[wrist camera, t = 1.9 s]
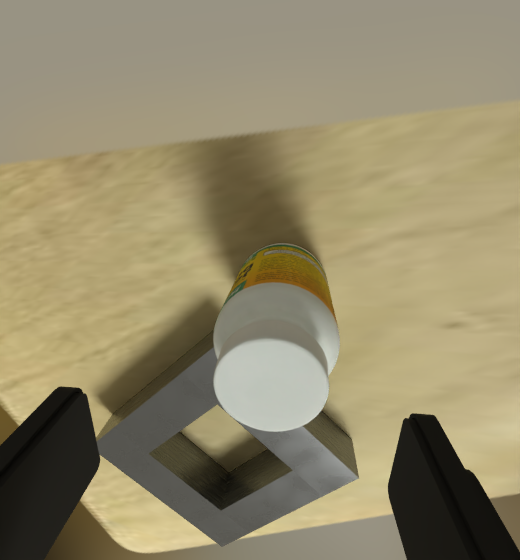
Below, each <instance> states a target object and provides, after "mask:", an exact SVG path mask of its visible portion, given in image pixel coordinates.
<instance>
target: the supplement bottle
mask: <svg viewBox="0 0 520 560" xmlns="http://www.w3.org/2000/svg"><path fill="white" fill-rule="evenodd" d="M213 343H214V349H215V354H216V357H217V359H218V361H217V364H216V367H215V371H214V378H213V383H214V390H215V394H216V396H217V398H218V400H219V402H220V404H221V405H222V407H223V408H224V409H225V411H226V412H227V413H228V414H229V415H231V416H232V417H233V418H234V419H236V420H237V421H239V422H241V423H242V424H245V425H247V426H249V427H252V428H255V429H258V430H263V431H273V432H278V431H287V430H292V429H295V428H299V427H301V426H303V425H305V424H307V423H309V422H310V421H311V420H313V419H314V418H315V417H316V416H317V415H318V414H319V413H320V411H321V410H322V409H323V407H324V405H325V403H326V400H327V397H328V393H329V379H328V376H329V374H330V373H331V371H332V370H333V368H334V366H335V364H336V361H337V358H338V354H339V348H340V337H339V330H338V326H337V321H336V317H335V313H334V309H333V304H332V300H331V295H330V290H329V286H328V282H327V278H326V274H325V272H324V269H323V267H322V266H321V264H320V263H319V261H318V260H317V259H316V257H315V256H313V255H312V254H311V253H310V252H309V251H307V250H306V249H304V248H302V247H299V246H297V245H293V244H288V243H276V244H272V245H268V246H265V247H263V248H261V249H259V250H257V251H256V252H254V253H253V254H252V255H251V256H250V257H249V258H248V259H247V260H246V261H245V263H244V264H243V266H242V268H241V270H240V272H239V274H238V276H237V278H236V281H235V283H234V285H233V287H232V289H231V291H230V293H229V295H228V297H227V299H226V301H225V303H224V305H223V307H222V309H221V311H220V313H219V315H218V318H217V320H216V324H215V327H214V335H213Z"/></svg>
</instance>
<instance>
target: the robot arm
mask: <svg viewBox="0 0 520 560" xmlns="http://www.w3.org/2000/svg"><path fill="white" fill-rule="evenodd" d="M99 463H100V456H99V451H98V446H97V441H96V437H95V432H94V427H93V422H92V417H91V413H90V408H89V403H88V398H87V395H86V394H84V393H83V392H82V390H81V389H80V388H73V387H58V388H57V389H55V390H54V391H53V392H52V393H51V394H50V395H49V396H48V397H47V398H46V400H45V401H44V402H43V403H42V404H41V405H40V406H39V407H38V408H37V409H36V410H35V411H34V412H33V413H32V414H31V415H30V416H29V417H28V418H27V419H26V420H25V421H24V422H23V423H22V424H21V425H20V426H19V427H18V428H17V429H16V430H15V431H14V432H13V433H12V434H11V435H10V436H9V437H8V438H7V439H6V440H5V441H4V442H3V444H1V446H0V560H44V559H45V557H46V555H47V554H48V552H49V550H50V549H51V547H52V545H53V544H54V542H55V540H56V539H57V537H58V535H59V533H60V532H61V530H62V529H63V527H64V525H65V523H66V522H67V520H68V518H69V517H70V515H71V513H72V512H73V510H74V509H75V507H76V505H77V503H78V502H79V500H80V499H81V497H82V495H83V494H84V492H85V490H86V489H87V487H88V485H89V484H90V482H91V480H92V478H93V477H94V475H95V473H96V472H97V470H98V467H99ZM388 494H389V499H390V503H391V506H392V510H393V513H394V516H395V520H396V523H397V527H398V530H399V534H400V537H401V541H402V544H403V547H404V551H405V554H406V558H407V560H520V552H519V550H518V548H517V547H516V545H515V543H514V541H513V540H512V538H511V536H510V534H509V533H508V531H507V529H506V527H505V526H504V524H503V522H502V520H501V519H500V517H499V515H498V513H497V512H496V510H495V508H494V507H493V505H492V503H491V501H490V500H489V498H488V496H487V494H486V493H485V491H484V489H483V487H482V486H481V484H480V482H479V481H478V479H477V478H476V476H475V475H474V474H473V473H472V472H471V471H470V470H467V469H465V468H464V466H463V465H462V463H461V461H460V459H459V457H458V456H457V454H456V452H455V450H454V448H453V447H452V445H451V443H450V441H449V439H448V438H447V436H446V434H445V432H444V430H443V429H442V427H441V425H440V423H439V421H438V420H437V418H436V417H435V416H434V415H426V414H411V415H410V417H409V419H408V418H405V419H404V420H403V424H402V428H401V432H400V437H399V441H398V445H397V449H396V454H395V458H394V462H393V466H392V470H391V475H390V479H389V483H388Z"/></svg>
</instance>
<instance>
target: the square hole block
mask: <svg viewBox="0 0 520 560" xmlns="http://www.w3.org/2000/svg"><path fill="white" fill-rule="evenodd" d="M213 335H214V330H213V331H212V332H211V333H210V334H209V335H207V336H206V337H205V338H204V339H203V340H201V341H200V342H199V343H198V344H197V345H195V346H194V347H193V348H192V349H191V350H189V351H188V352H187V353H186V354H185V355H183V356H182V357H181V358H180V359H179V360H177V361H176V362H175V363H174V364H173V365H171V366H170V367H169V368H168V369H167V370H165V371H164V372H163V373H162V374H161V375H159V376H158V377H157V378H156V379H155V380H153V381H152V382H151V383H150V384H149V385H147V386H146V387H145V388H144V389H143V390H141V391H140V392H139V393H138V394H137V395H135V396H134V397H133V398H132V399H131V400H129V401H128V402H127V403H126V404H125V405H123V406H122V407H121V408H120V409H119V410H117V411H116V412H115V413H114V414H113V415H112V416H111V417H110V419H109V420H108V422H107V423H106V424H105V426H104V427H103V429H102V430H101V432H100V433H99V435H98V436H97V437H96V441H97V446H98V451H99V454H100V455H101V456H102V457H104V458H105V459H106V460H108V461H109V462H110V463H112V464H113V465H114V466H116V467H117V468H118V469H120V470H121V471H122V472H124V473H125V474H126V475H128V476H129V477H130V478H132V479H133V480H134V481H136V482H137V483H138V484H140V485H141V486H142V487H143V488H145V489H146V490H147V491H149V492H150V493H151V494H153V495H154V496H155V497H157V498H158V499H159V500H161V501H162V502H163V503H165V504H166V505H167V506H169V507H170V508H171V509H173V510H174V511H175V512H177V513H178V514H179V515H181V516H182V517H183V518H185V519H186V520H187V521H189V522H190V523H191V524H192V525H194V526H195V527H196V528H198V529H199V530H200V531H202V532H203V533H204V534H206V535H207V536H208V537H210V538H211V539H212V540H214V541H215V542H216V543H218V544H219V545H220V546H225V545H226V544H228V543H230V542H232V541H235V540H237V539H239V538H241V537H243V536H244V535H246V534H248V533H250V532H252V531H254V530H256V529H258V528H260V527H262V526H264V525H266V524H268V523H270V522H272V521H274V520H276V519H278V518H280V517H282V516H284V515H286V514H288V513H290V512H292V511H294V510H296V509H298V508H300V507H302V506H304V505H306V504H308V503H310V502H312V501H314V500H316V499H318V498H320V497H322V496H324V495H326V494H328V493H330V492H332V491H334V490H336V489H338V488H340V487H342V486H344V485H346V484H348V483H350V482H352V481H354V480H356V479H358V478H359V476H358V470H357V465H356V459H355V454H354V448H353V443H352V439H350V438H349V437H348V436H347V435H346V434H345V433H344V432H343V431H342V430H341V429H340V428H339V427H338V426H337V425H336V424H335V423H334V422H333V421H332V420H331V419H330V418H328V417H327V416H326V415H325V414H324V413H323V412H322V411H320V413H319V414H318V415H317V416H316V417H315V418H314V419H313V420H311V421H310V422H309V423H307V424H305V425H303V426H301V427H299V428H295V429H292V430H287V431H278V432H273V431H263V430H258V429H255V428H252V427H249V426H247V425H245V424H242V423H241V422H239V421H237V420H236V419H235V420H236V421H237V422H238V423H239V424H241V425H242V426H243V427H244V428H245V429H246V430H247V431H249V432H250V433H251V434H252V435H253V436H254V437H255V438H257V439H258V440H259V441H260V442H261V443H262V444H263V445H265V446H266V447H267V448H268V450H266V451H265V452H263V453H261V454H260V455H258V456H256V457H255V458H253V459H251V460H250V461H248V462H246V463H245V464H243V465H241V466H240V467H238V468H236V469H235V470H233V471H232V472H230V473H228V472H227V471H226V470H225V469H223V468H222V467H221V466H220V465H218V464H217V463H216V462H215V461H214V460H212V459H211V458H210V457H209V456H208V455H206V454H205V453H204V452H203V451H201V450H200V449H199V448H198V447H197V446H195V445H194V444H193V443H192V442H191V441H189V440H188V439H187V438H186V437H184V436H183V435H182V434H181V433H180V432H179V431H181V430H182V429H183V428H185V427H186V426H188V425H189V424H190V423H192V422H193V421H195V420H196V419H197V418H199V417H200V416H202V415H203V414H204V413H206V412H207V411H209V410H210V409H211V408H213V407H214V406H216V405H217V404H218V405H219V406H220V407H221V408H222V409H223V410H225V409H224V408H223V407H222V405H221V404H220V402H219V400H218V398H217V396H216V394H215V390H214V383H213V378H214V371H215V367H216V364H217V361H218V359H217V357H216V354H215V349H214V343H213ZM230 416H231V415H230ZM231 417H232V416H231Z"/></svg>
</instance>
